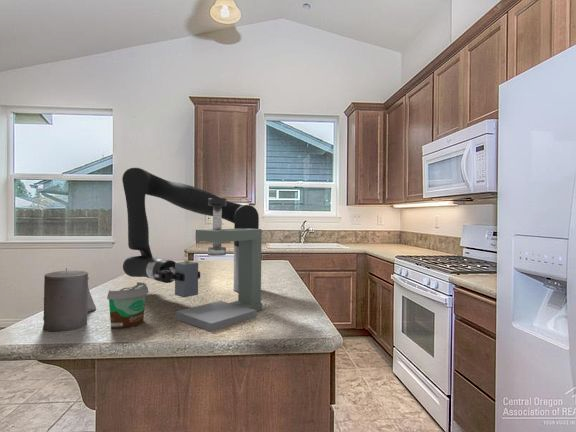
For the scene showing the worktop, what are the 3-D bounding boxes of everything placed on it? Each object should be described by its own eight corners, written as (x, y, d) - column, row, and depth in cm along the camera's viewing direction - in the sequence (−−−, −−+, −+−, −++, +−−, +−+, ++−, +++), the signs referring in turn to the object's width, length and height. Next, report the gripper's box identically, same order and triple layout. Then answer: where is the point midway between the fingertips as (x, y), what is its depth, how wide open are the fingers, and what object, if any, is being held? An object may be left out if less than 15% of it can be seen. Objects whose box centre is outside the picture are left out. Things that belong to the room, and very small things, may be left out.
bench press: (237, 302, 113) (237, 228, 113) (272, 311, 102) (273, 229, 102) (175, 318, 95) (176, 229, 95) (210, 331, 85) (211, 232, 85)
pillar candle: (33, 330, 84) (34, 270, 84) (64, 318, 94) (65, 264, 94) (67, 333, 83) (68, 272, 83) (96, 321, 92) (97, 266, 92)
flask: (65, 310, 102) (65, 277, 102) (91, 305, 107) (92, 274, 107) (72, 315, 97) (72, 280, 97) (100, 310, 102) (100, 277, 102)
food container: (128, 333, 83) (128, 292, 83) (106, 331, 84) (107, 291, 84) (157, 318, 95) (157, 282, 95) (138, 316, 96) (138, 281, 96)
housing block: (188, 292, 109) (189, 258, 109) (198, 294, 106) (198, 260, 106) (174, 294, 105) (175, 260, 105) (184, 297, 102) (184, 261, 102)
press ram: (218, 253, 99) (218, 199, 99) (229, 254, 96) (230, 198, 96) (204, 254, 96) (204, 198, 96) (215, 256, 92) (215, 197, 92)
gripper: (141, 261, 109) (170, 267, 98) (181, 257, 120) (210, 261, 109) (141, 284, 109) (170, 292, 98) (180, 278, 120) (210, 285, 109)
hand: (191, 276), depth 104 cm, fingers closed on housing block, 5 cm apart
